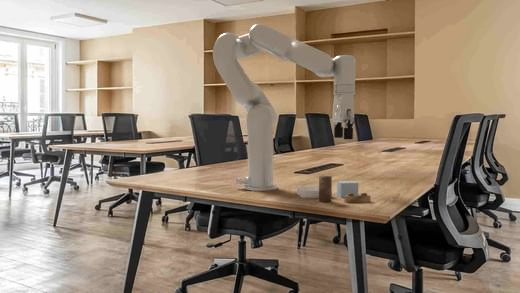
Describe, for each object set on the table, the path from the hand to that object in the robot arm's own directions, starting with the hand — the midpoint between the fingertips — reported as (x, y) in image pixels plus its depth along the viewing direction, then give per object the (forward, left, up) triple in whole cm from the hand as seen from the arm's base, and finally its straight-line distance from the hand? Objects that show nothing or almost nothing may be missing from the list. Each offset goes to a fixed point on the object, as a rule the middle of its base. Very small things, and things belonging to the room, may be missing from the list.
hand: (343, 138), depth 154 cm
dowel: (-12, -17, -19) cm, 28 cm away
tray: (-13, -7, -19) cm, 24 cm away
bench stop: (-2, -19, -19) cm, 27 cm away
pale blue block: (-2, -10, -19) cm, 22 cm away
